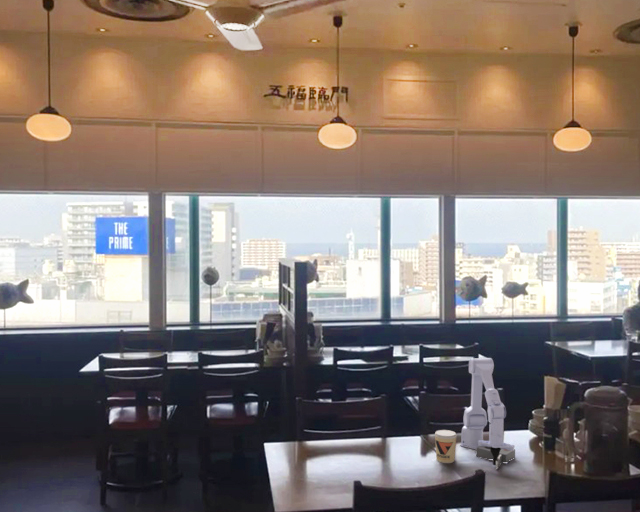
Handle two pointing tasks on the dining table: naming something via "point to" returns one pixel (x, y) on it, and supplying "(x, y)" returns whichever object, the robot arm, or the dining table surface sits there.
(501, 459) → the side door
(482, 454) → the camera case
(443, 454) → the coffee cup
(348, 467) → the dining table surface
